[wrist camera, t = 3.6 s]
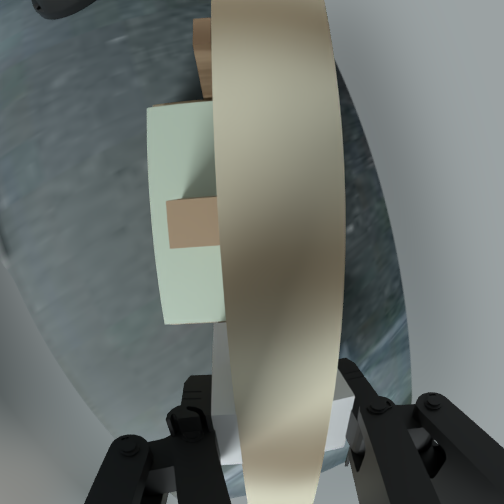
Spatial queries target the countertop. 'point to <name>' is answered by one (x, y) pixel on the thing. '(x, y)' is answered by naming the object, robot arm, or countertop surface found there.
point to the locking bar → (279, 234)
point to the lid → (185, 212)
